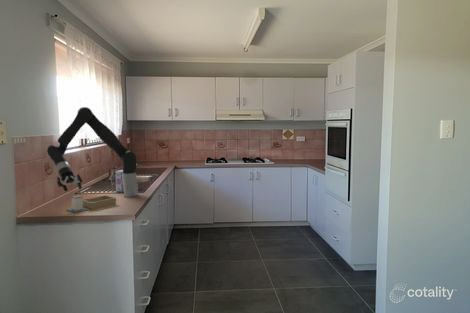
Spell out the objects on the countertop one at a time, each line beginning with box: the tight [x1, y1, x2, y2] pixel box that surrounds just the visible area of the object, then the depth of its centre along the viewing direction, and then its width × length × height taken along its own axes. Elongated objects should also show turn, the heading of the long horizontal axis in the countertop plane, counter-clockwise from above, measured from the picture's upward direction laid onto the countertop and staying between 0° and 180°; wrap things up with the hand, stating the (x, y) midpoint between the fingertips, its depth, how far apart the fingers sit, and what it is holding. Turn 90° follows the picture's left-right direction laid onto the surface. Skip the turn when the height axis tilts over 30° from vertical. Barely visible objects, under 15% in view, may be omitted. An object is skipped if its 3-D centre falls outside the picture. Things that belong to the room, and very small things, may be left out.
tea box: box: [70, 195, 83, 210], centre depth 208 cm, size 5×5×8 cm
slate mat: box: [66, 207, 90, 214], centre depth 208 cm, size 9×12×1 cm
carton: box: [82, 194, 120, 212], centre depth 219 cm, size 17×22×4 cm
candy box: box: [114, 169, 124, 193], centre depth 266 cm, size 14×6×16 cm, turn 164°
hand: (73, 189), depth 210 cm, fingers open, 8 cm apart
